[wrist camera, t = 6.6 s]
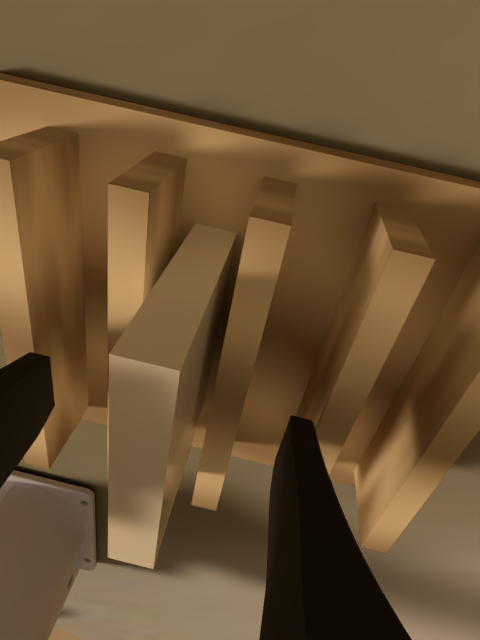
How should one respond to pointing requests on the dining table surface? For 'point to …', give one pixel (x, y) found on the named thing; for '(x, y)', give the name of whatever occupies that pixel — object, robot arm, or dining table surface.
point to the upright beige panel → (162, 391)
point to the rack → (249, 287)
